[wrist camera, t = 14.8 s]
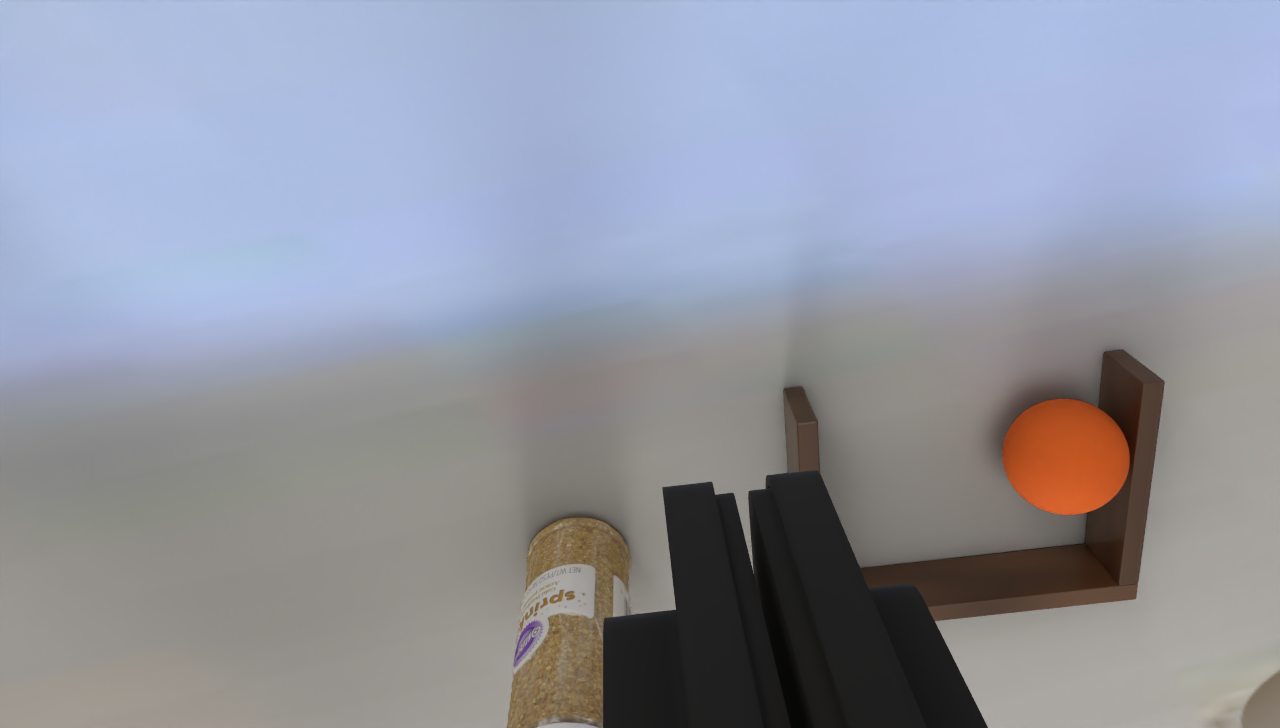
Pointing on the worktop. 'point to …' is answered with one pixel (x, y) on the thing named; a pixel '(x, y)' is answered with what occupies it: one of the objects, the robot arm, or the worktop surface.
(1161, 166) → the worktop surface
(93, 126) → the worktop surface
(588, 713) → the sprinkles bottle
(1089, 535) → the brown u-shaped piece
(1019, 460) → the ball
